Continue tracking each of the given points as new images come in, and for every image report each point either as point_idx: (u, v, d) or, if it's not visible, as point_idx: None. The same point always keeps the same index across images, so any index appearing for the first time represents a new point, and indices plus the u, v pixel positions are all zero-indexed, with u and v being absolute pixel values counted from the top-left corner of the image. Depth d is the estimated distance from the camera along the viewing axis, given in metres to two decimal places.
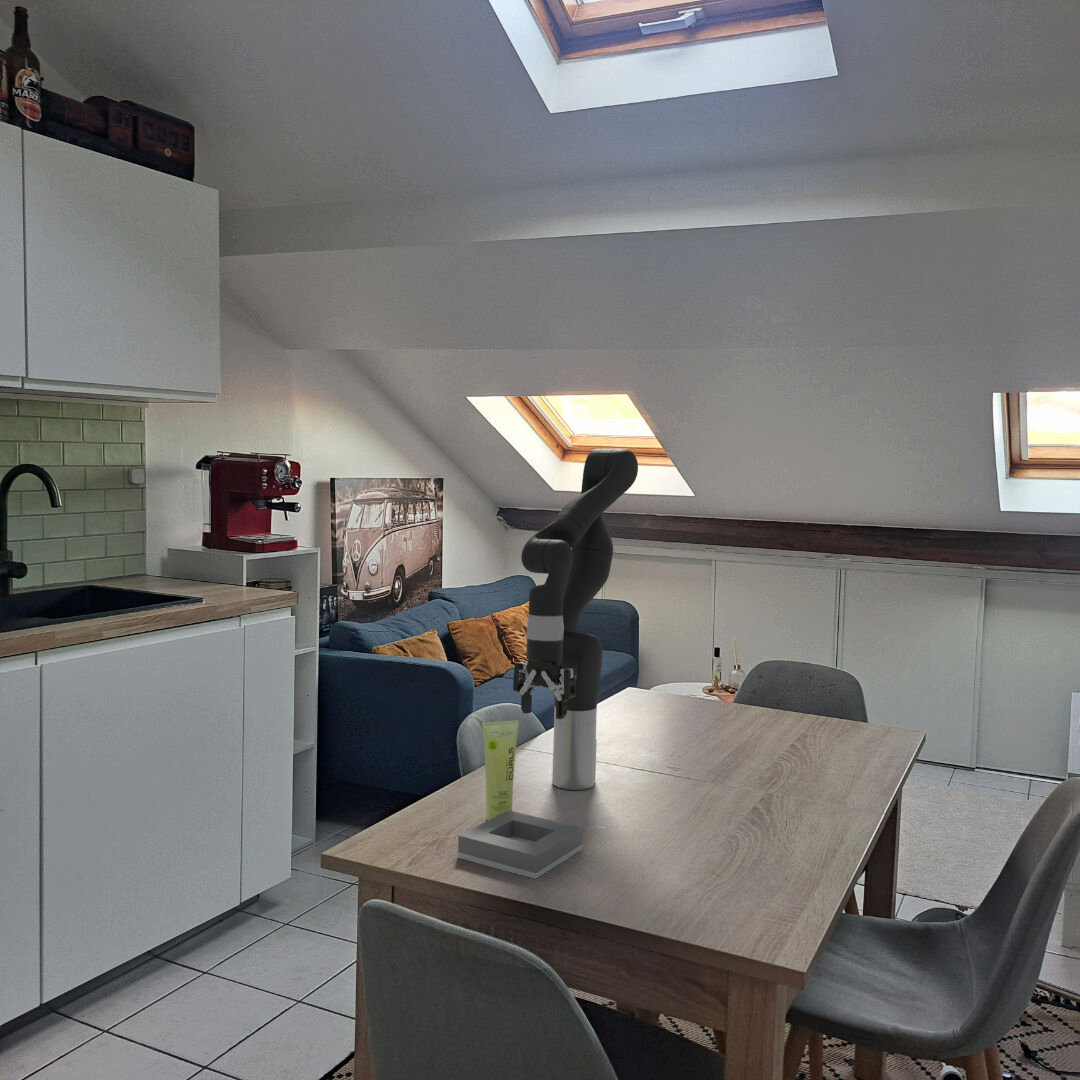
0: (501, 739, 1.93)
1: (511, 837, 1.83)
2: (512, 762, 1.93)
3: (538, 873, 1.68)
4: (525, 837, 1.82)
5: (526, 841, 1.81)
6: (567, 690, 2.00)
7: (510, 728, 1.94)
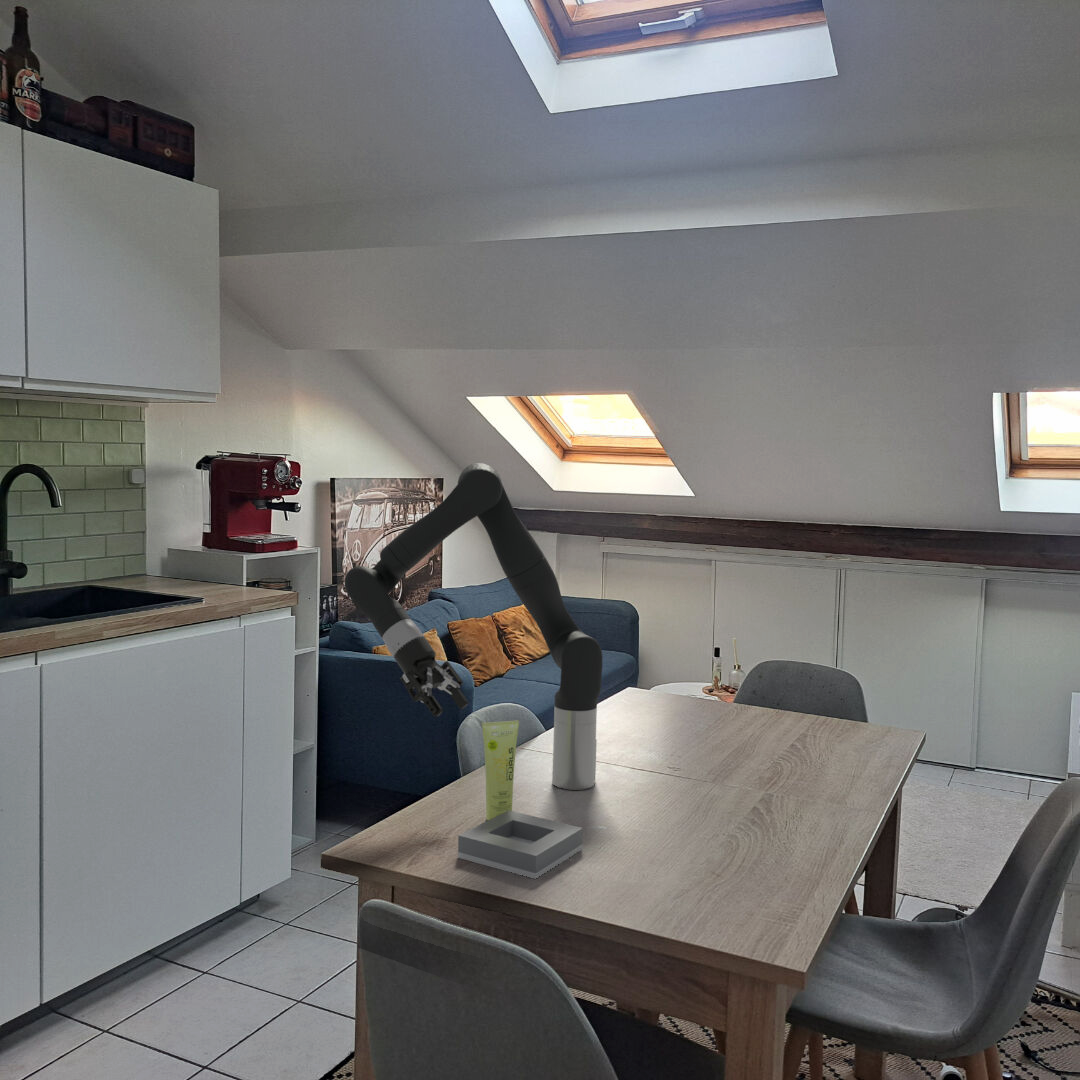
0: (501, 739, 1.93)
1: (511, 837, 1.83)
2: (512, 762, 1.93)
3: (538, 873, 1.68)
4: (525, 837, 1.82)
5: (526, 841, 1.81)
6: None
7: (510, 728, 1.94)
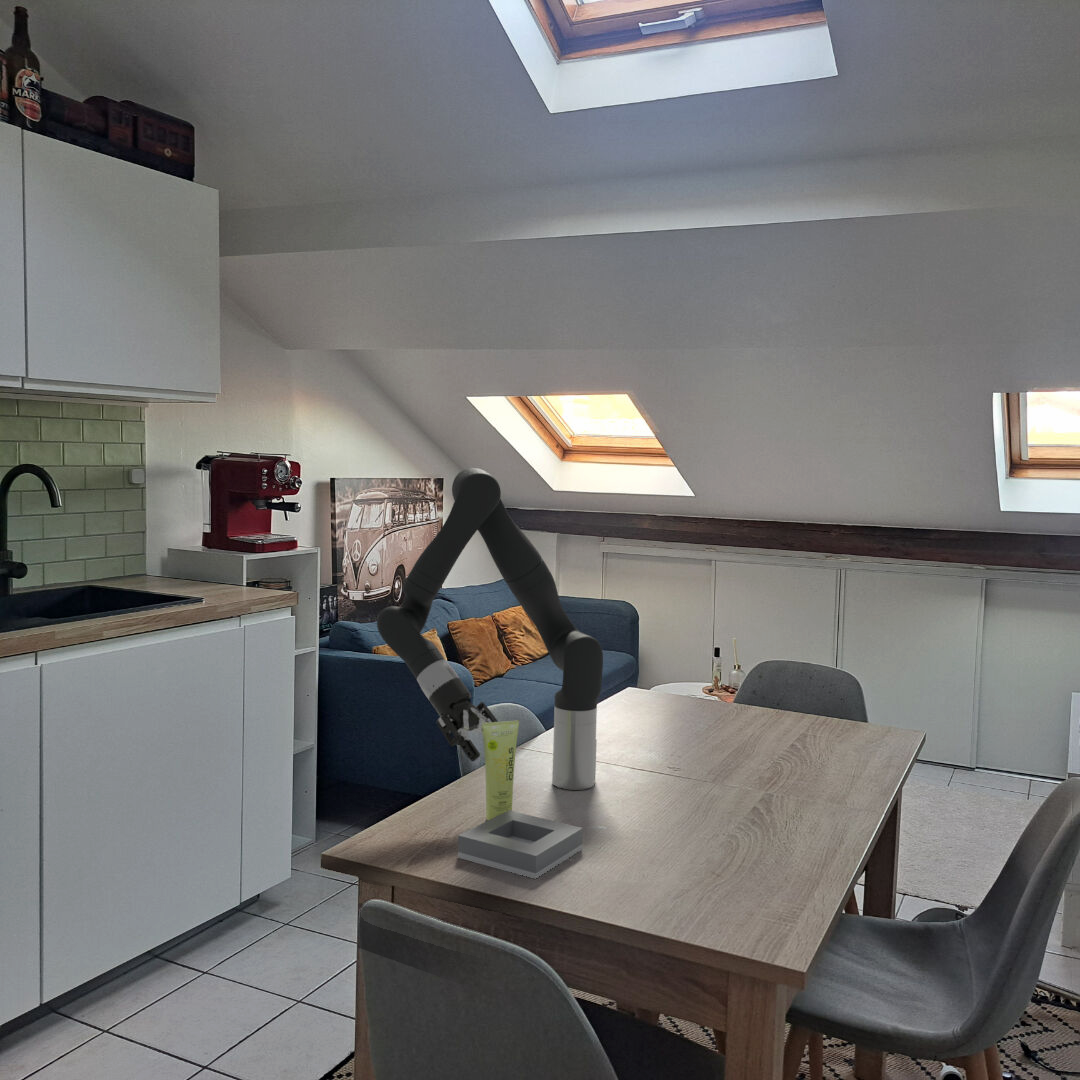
0: (501, 739, 1.93)
1: (511, 837, 1.83)
2: (512, 762, 1.93)
3: (538, 873, 1.68)
4: (525, 837, 1.82)
5: (526, 841, 1.81)
6: None
7: (510, 728, 1.94)
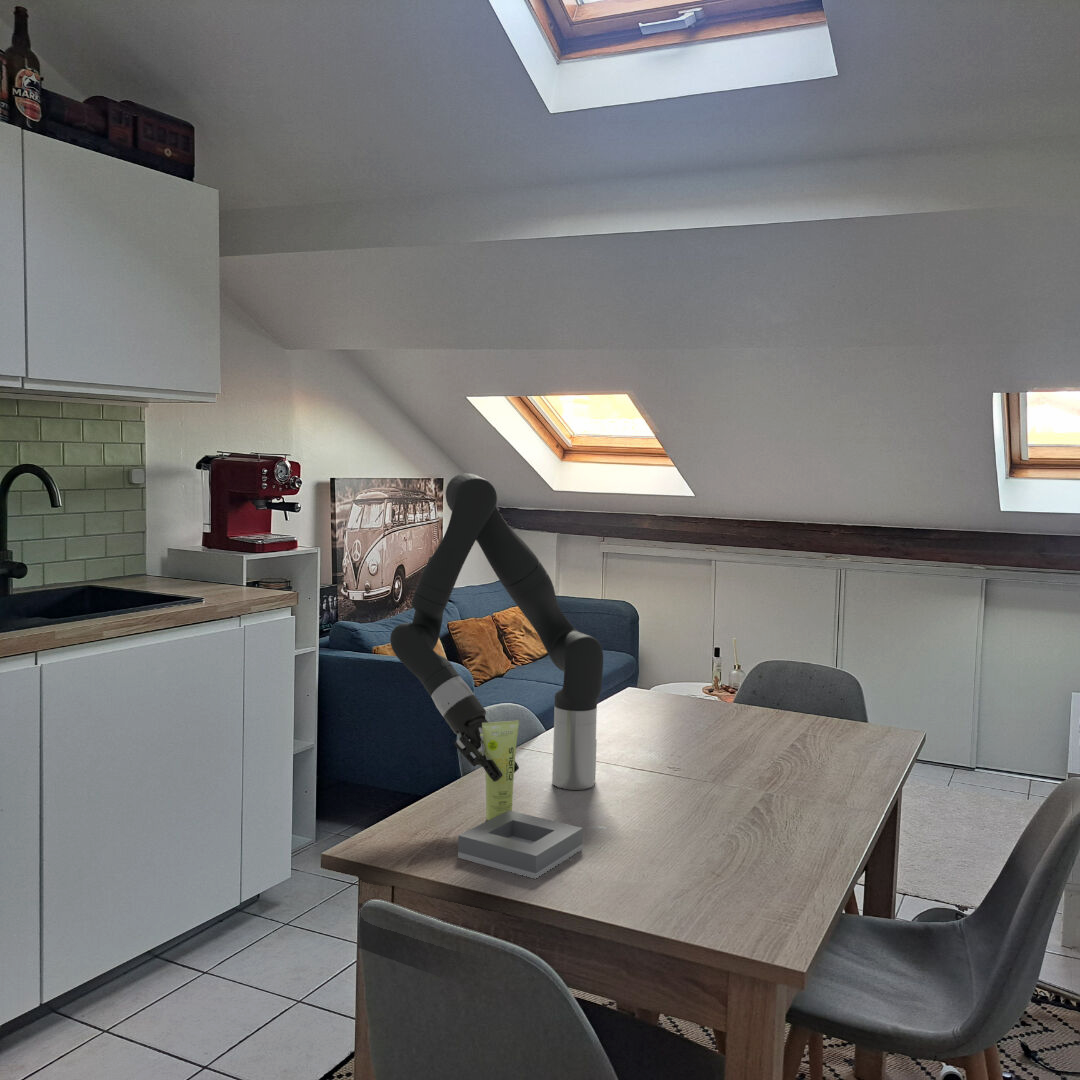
0: (501, 739, 1.93)
1: (511, 837, 1.83)
2: (512, 762, 1.93)
3: (538, 873, 1.68)
4: (525, 837, 1.82)
5: (526, 841, 1.81)
6: None
7: (510, 728, 1.94)
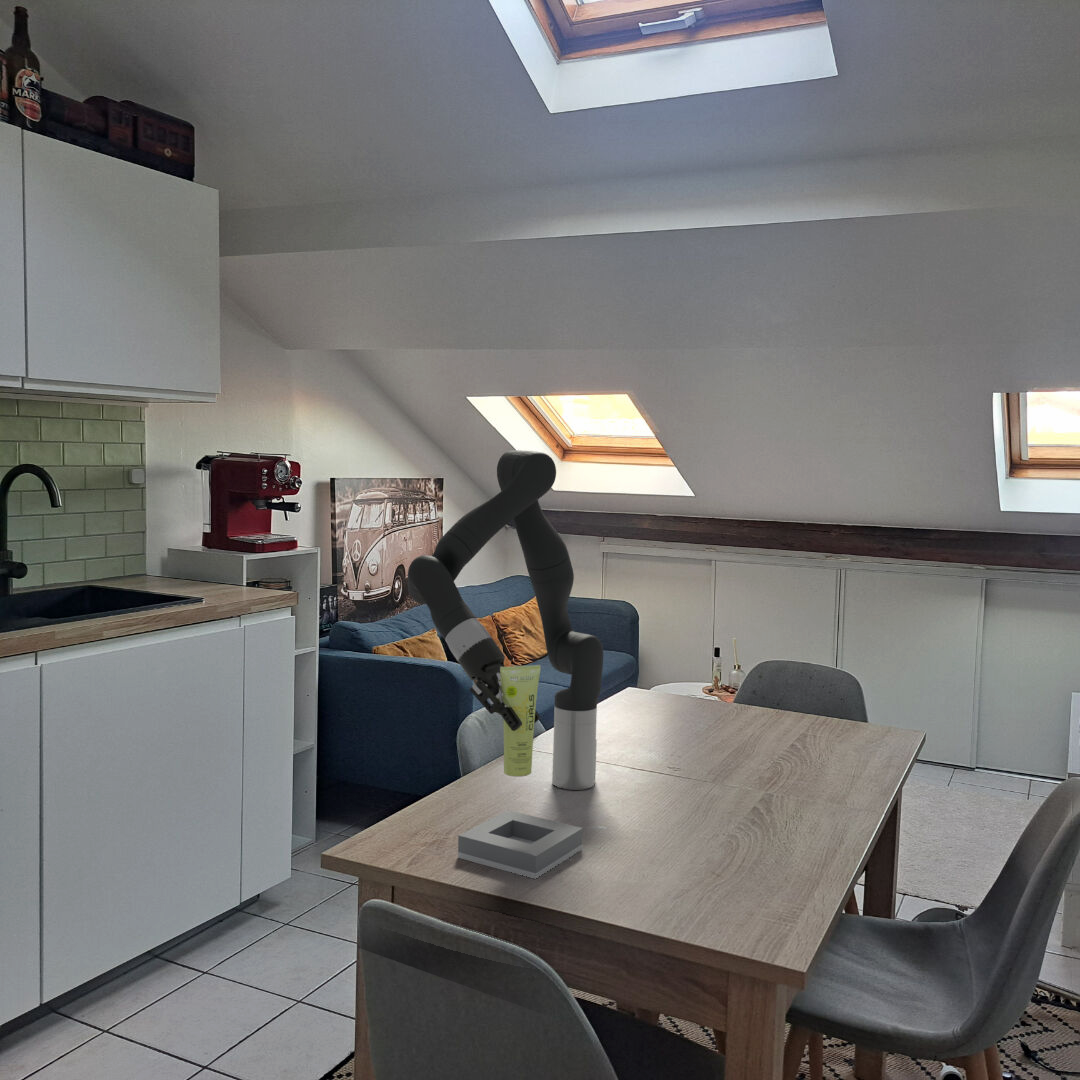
0: (520, 685, 1.76)
1: (511, 837, 1.83)
2: (532, 710, 1.77)
3: (538, 873, 1.68)
4: (525, 837, 1.82)
5: (526, 841, 1.81)
6: None
7: (531, 673, 1.77)
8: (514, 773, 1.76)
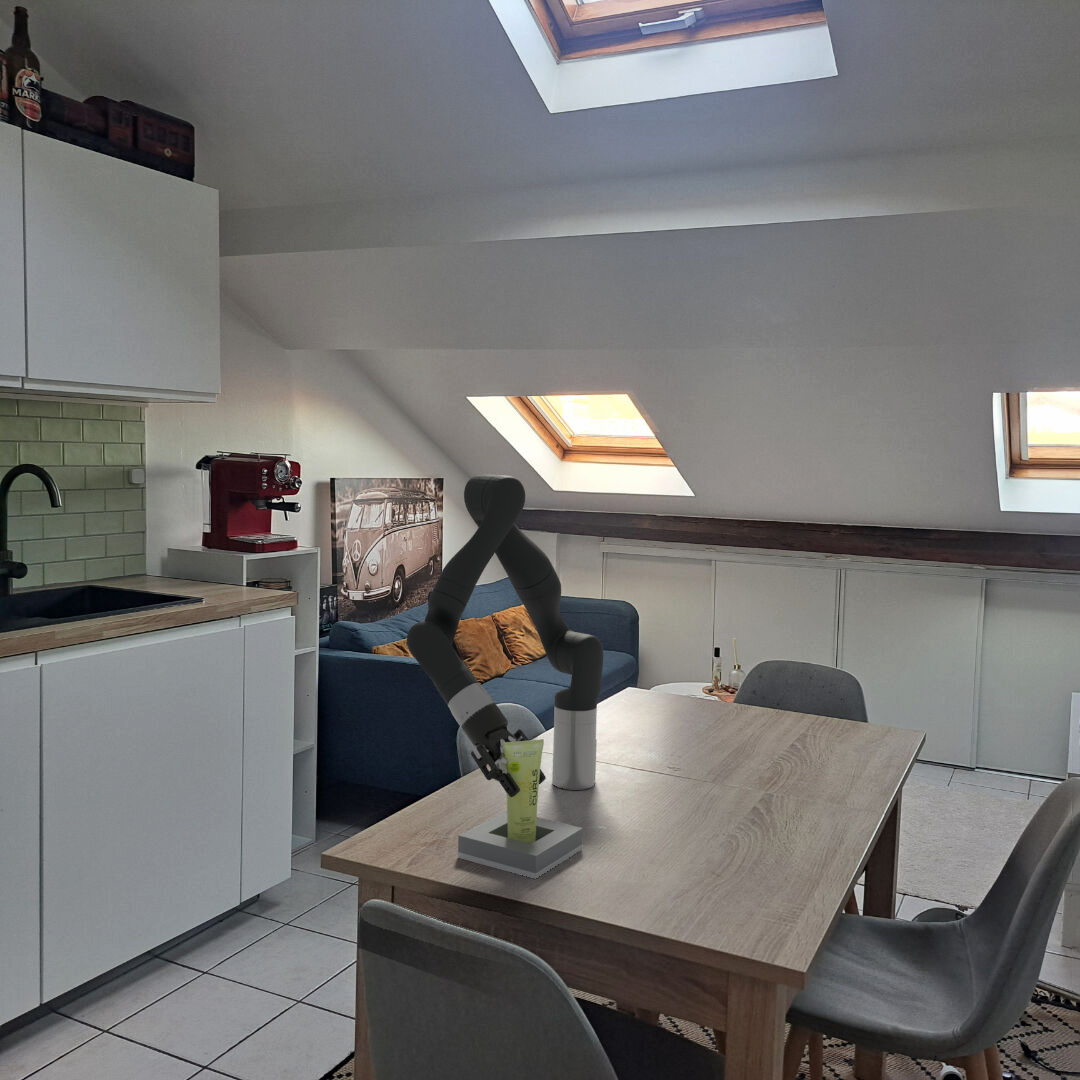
0: (523, 760, 1.76)
1: None
2: (536, 785, 1.76)
3: (538, 873, 1.68)
4: None
5: None
6: None
7: (534, 748, 1.77)
8: None
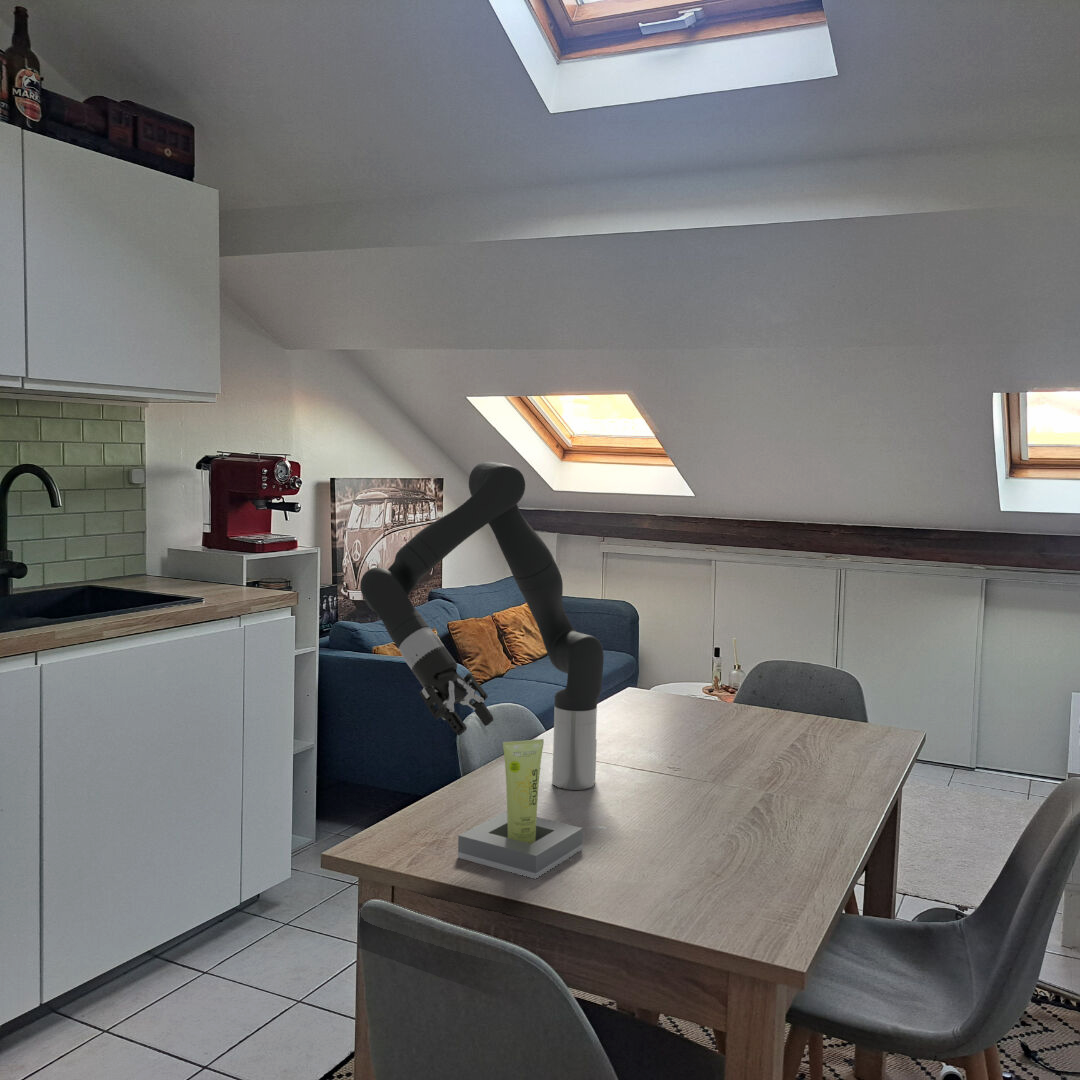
0: (523, 760, 1.76)
1: None
2: (536, 785, 1.77)
3: (538, 873, 1.68)
4: None
5: None
6: None
7: (534, 748, 1.77)
8: None
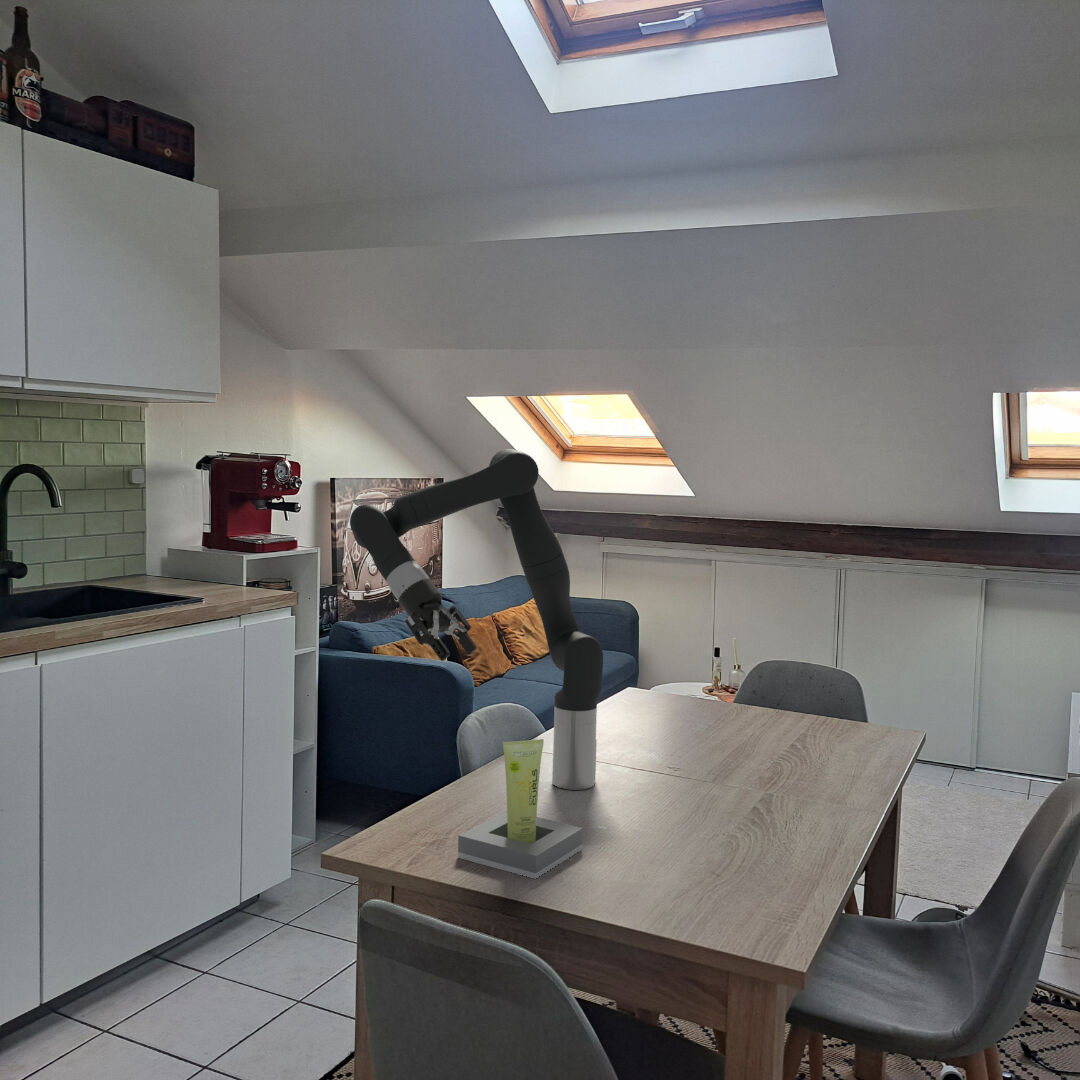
0: (523, 760, 1.76)
1: None
2: (536, 785, 1.77)
3: (538, 873, 1.68)
4: None
5: None
6: None
7: (534, 748, 1.77)
8: None
